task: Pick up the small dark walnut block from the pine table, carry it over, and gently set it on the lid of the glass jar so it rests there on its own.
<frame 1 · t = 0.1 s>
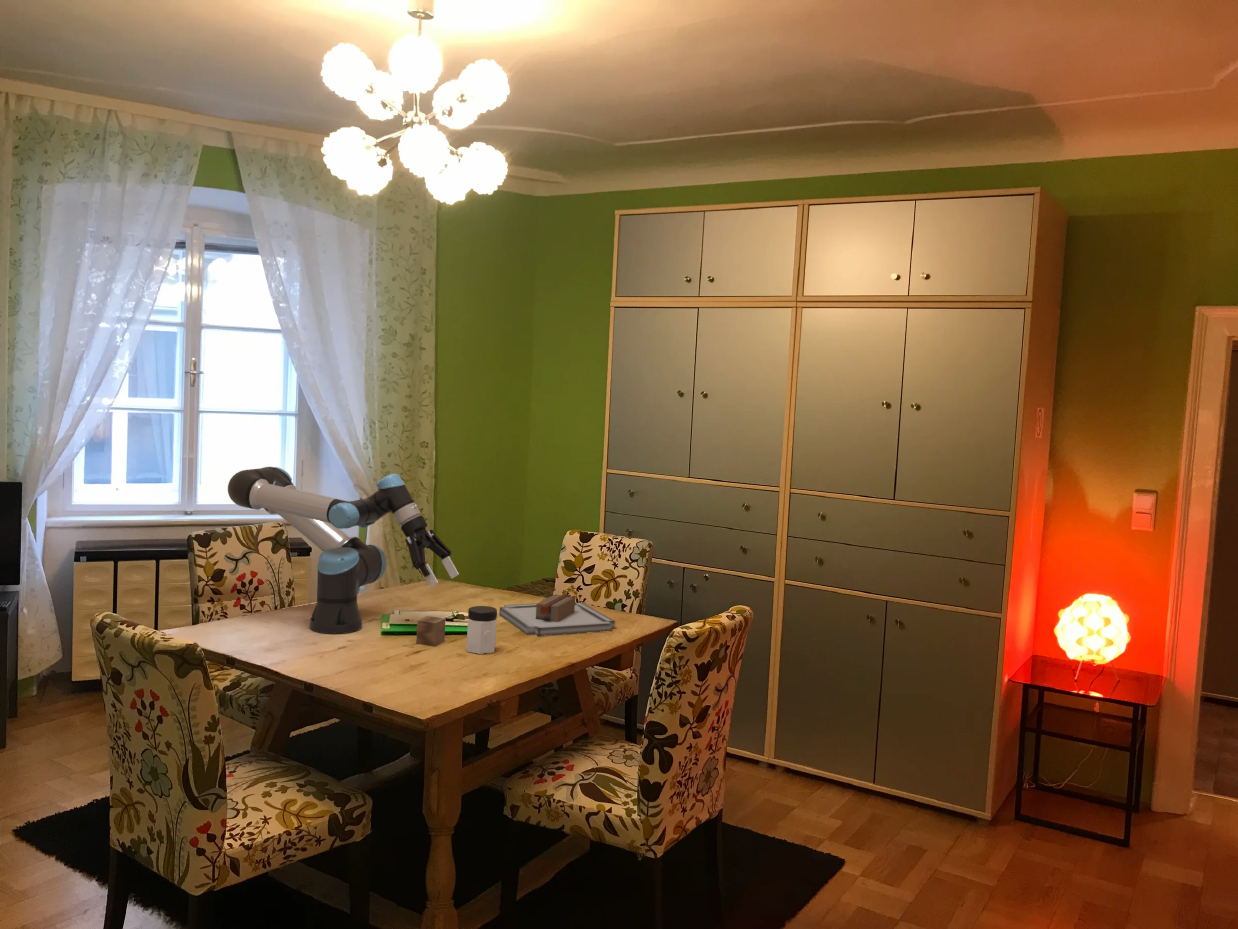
hand: (445, 580, 300), 15 cm above the table, tool tilted 35°, fingers open, 13 cm apart
grey tray: (556, 624, 320), on the table
jar: (480, 650, 283), on the table
walnut block: (430, 642, 287), on the table
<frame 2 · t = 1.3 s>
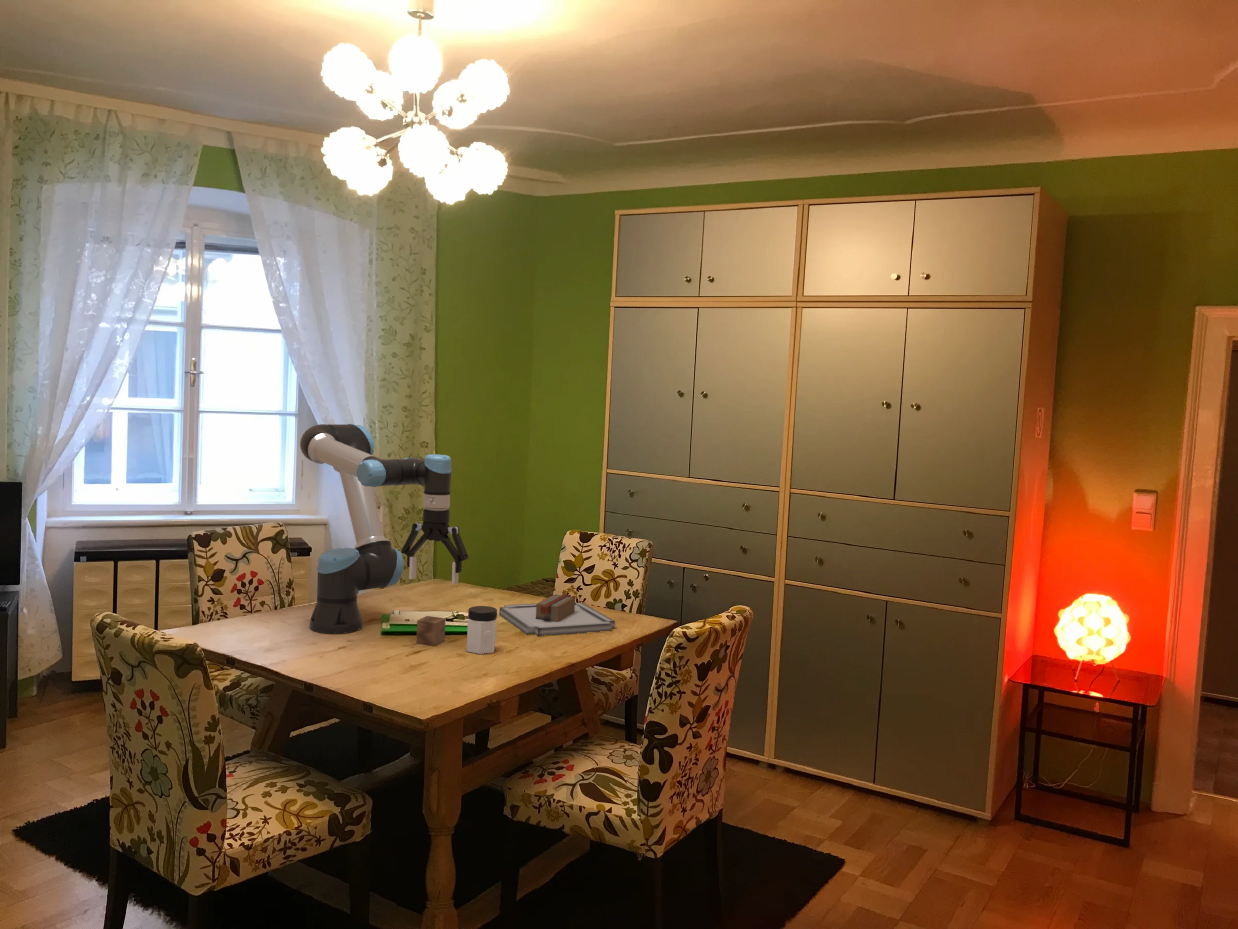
hand: (433, 581, 285), 18 cm above the table, tool pointing down, fingers open, 13 cm apart
nothing on the table moved.
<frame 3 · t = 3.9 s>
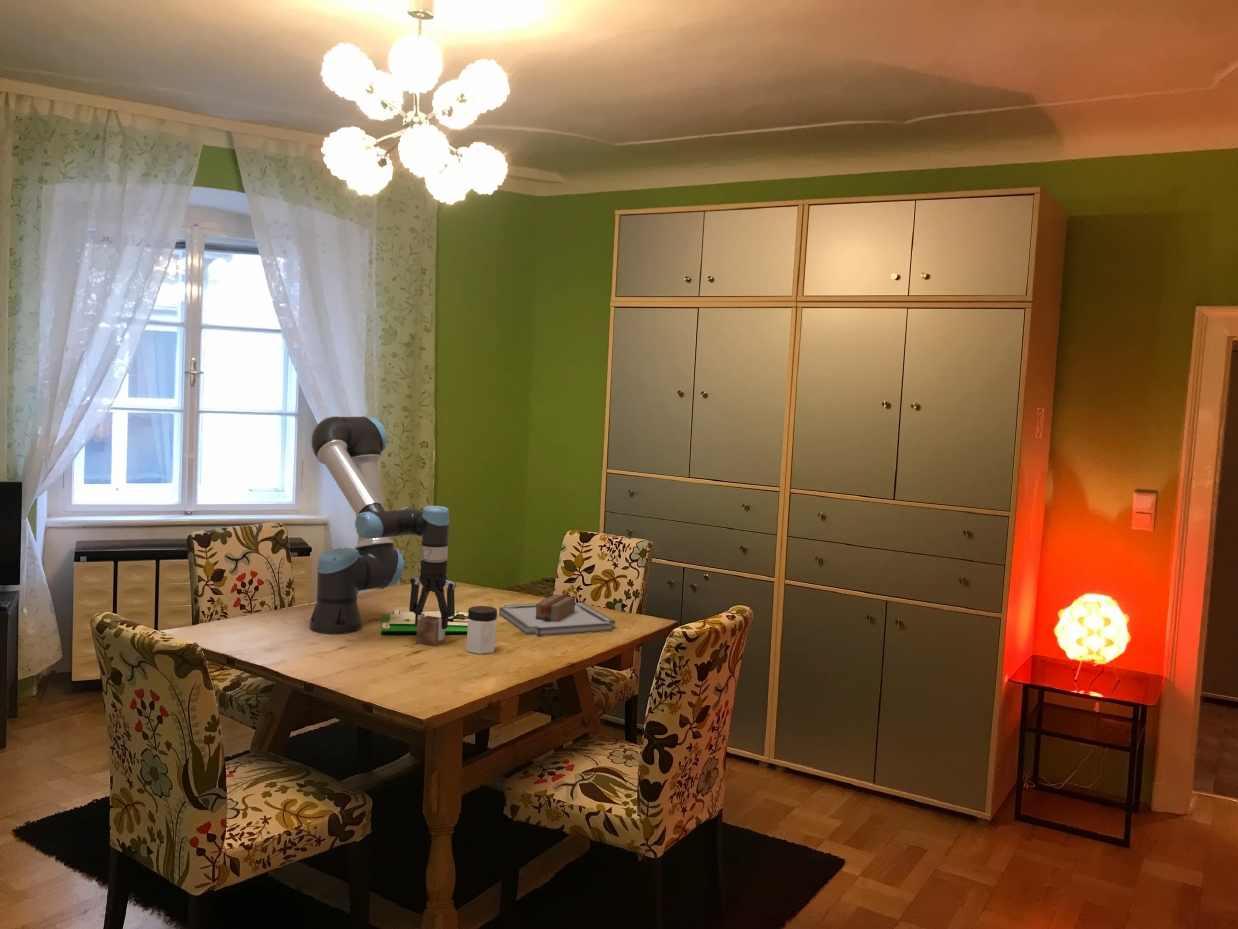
hand: (430, 637, 287), 1 cm above the table, tool pointing down, fingers closed on walnut block, 6 cm apart
walnut block: (430, 642, 287), on the table, touching gripper
everything else where it was.
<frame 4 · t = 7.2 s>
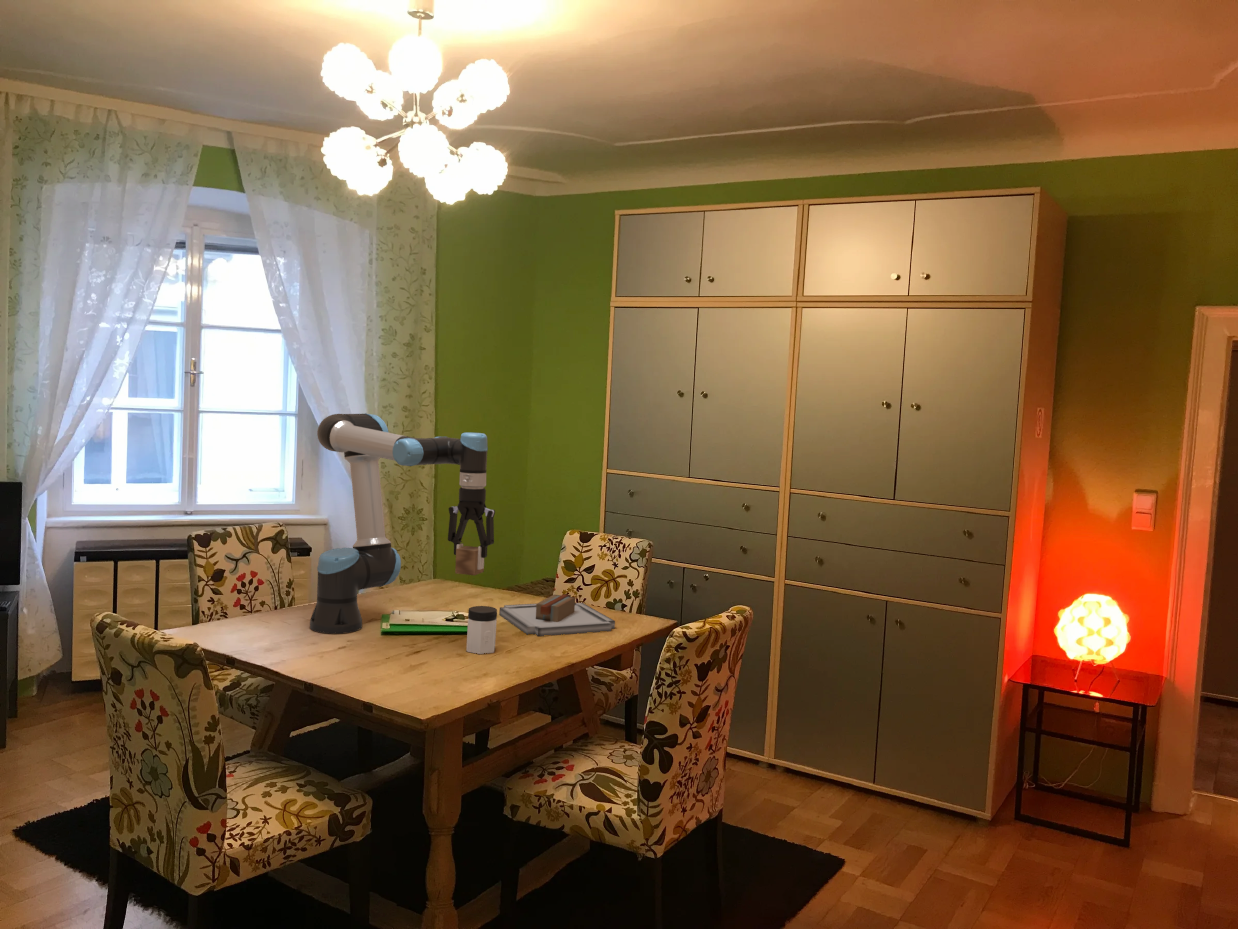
hand: (469, 567, 281), 24 cm above the table, tool pointing down, fingers closed on walnut block, 6 cm apart
walnut block: (469, 572, 282), point 22 cm above the table, touching gripper
everything else where it was.
when the fingers open (14 cm above the table, at t = 11.0 s): walnut block drops 1 cm, resting on jar.
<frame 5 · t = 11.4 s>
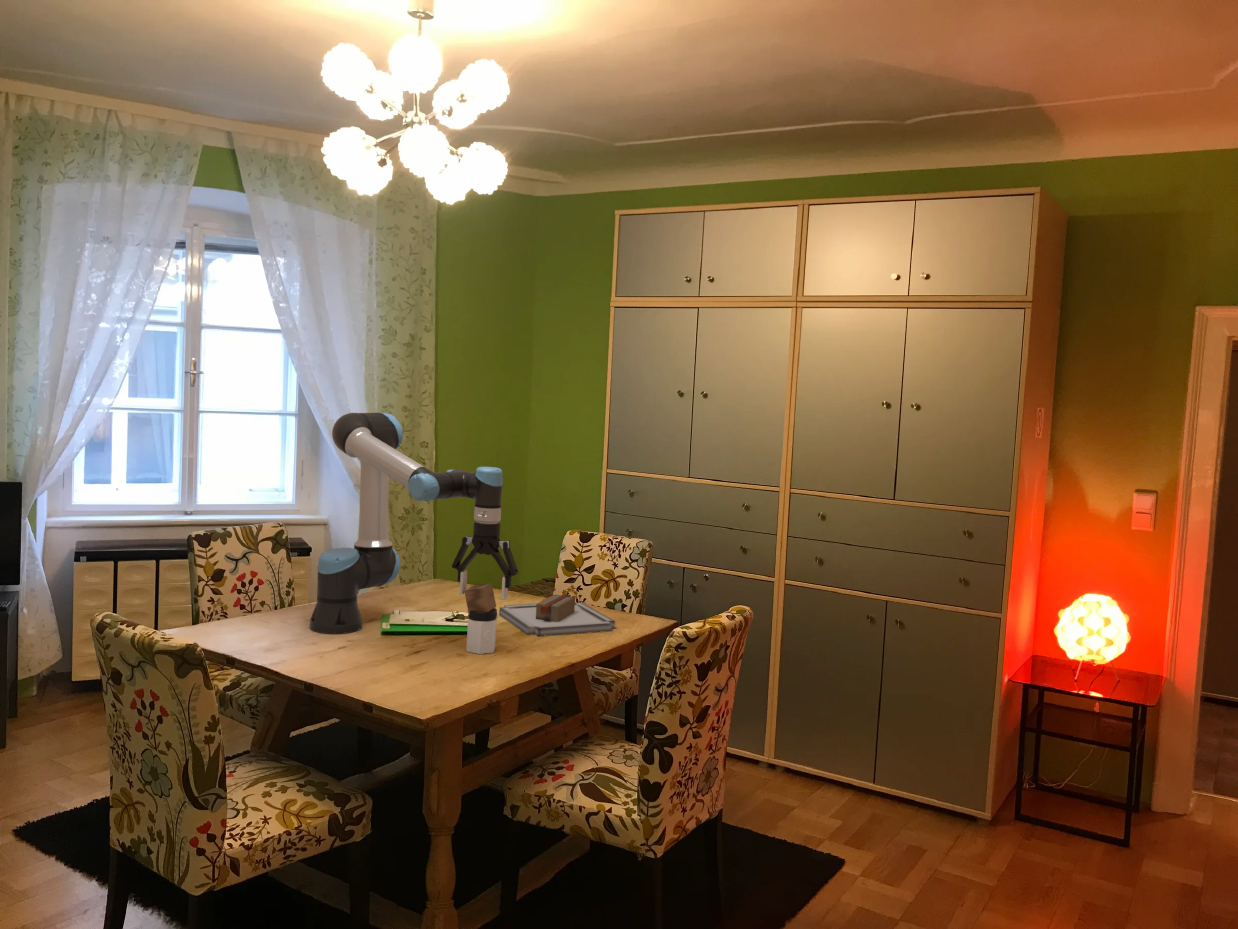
hand: (483, 596, 281), 16 cm above the table, tool pointing down, fingers open, 12 cm apart
jar: (480, 650, 283), on the table, touching walnut block
walnut block: (482, 610, 282), point 12 cm above the table, tilted 14°, touching jar
everything else where it was.
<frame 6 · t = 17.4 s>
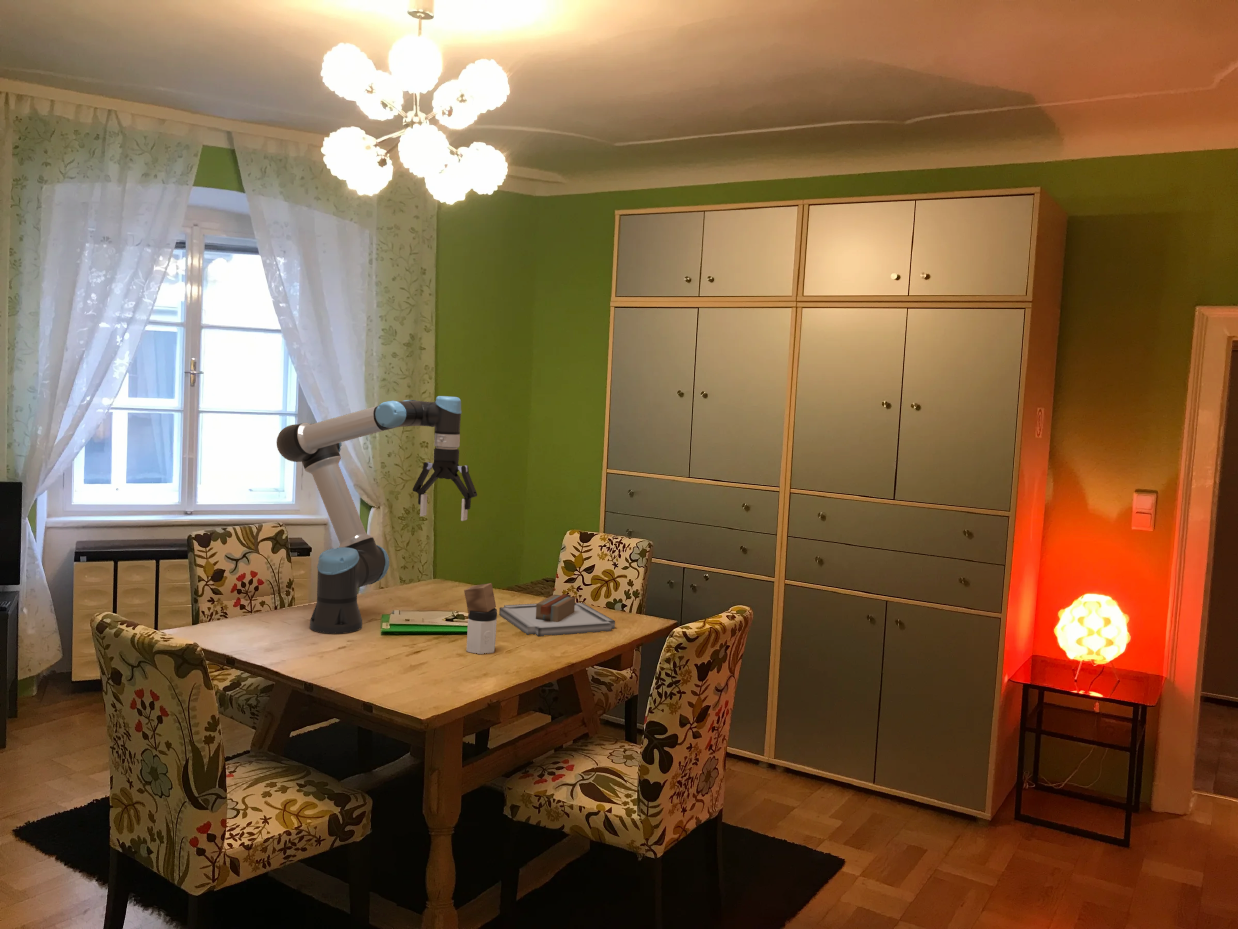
hand: (443, 518, 297), 35 cm above the table, tool pointing down, fingers open, 13 cm apart
nothing on the table moved.
at the end: walnut block 0.1 cm off-centre on the jar, point 11.8 cm above the jar's base; walnut block tilted 14°; jar tilted 0° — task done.
